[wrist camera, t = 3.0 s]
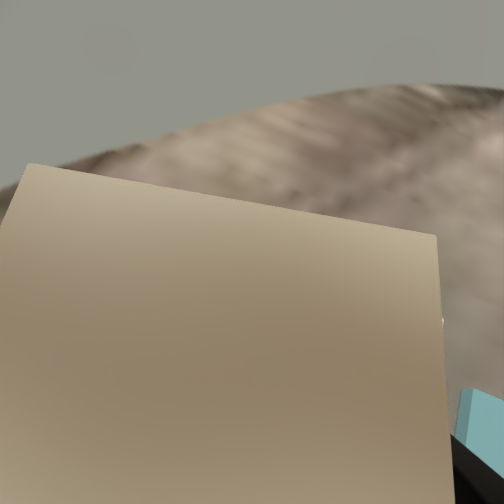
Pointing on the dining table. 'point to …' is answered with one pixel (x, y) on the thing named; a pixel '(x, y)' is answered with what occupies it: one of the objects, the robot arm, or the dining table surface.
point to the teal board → (482, 427)
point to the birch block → (214, 351)
